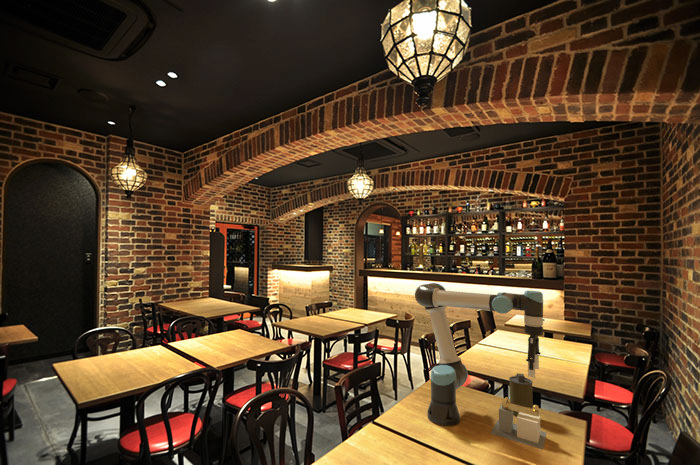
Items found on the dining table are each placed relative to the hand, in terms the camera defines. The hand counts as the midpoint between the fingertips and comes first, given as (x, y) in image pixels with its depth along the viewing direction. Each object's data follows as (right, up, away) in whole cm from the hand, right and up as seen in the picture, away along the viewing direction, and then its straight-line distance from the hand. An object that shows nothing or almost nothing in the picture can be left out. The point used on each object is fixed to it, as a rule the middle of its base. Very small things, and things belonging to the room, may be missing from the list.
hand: (533, 372), depth 150 cm
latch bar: (-8, -15, -4) cm, 18 cm away
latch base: (-9, -26, -5) cm, 28 cm away
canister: (+2, -27, +14) cm, 31 cm away
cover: (-6, -25, -7) cm, 26 cm away
